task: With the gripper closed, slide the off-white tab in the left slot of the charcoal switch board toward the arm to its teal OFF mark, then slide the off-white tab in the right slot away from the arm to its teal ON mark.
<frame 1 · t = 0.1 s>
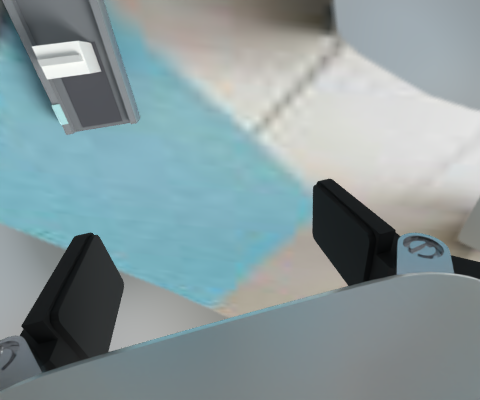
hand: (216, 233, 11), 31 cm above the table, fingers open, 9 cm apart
tab B: (69, 60, 28), point 5 cm above the table, slide at 0.0 cm
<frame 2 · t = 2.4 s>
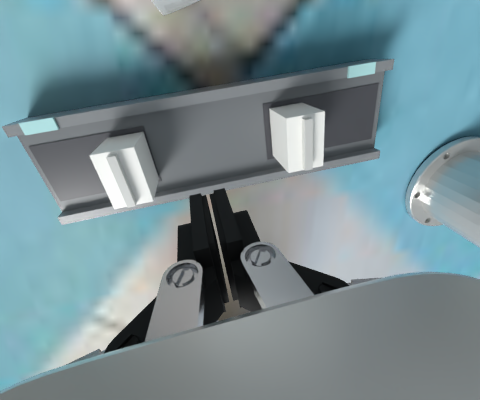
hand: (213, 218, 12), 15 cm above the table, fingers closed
tab A: (296, 137, 21), point 5 cm above the table, slide at 0.0 cm
tab B: (128, 170, 20), point 5 cm above the table, slide at 0.0 cm
switch board: (217, 135, 25), on the table
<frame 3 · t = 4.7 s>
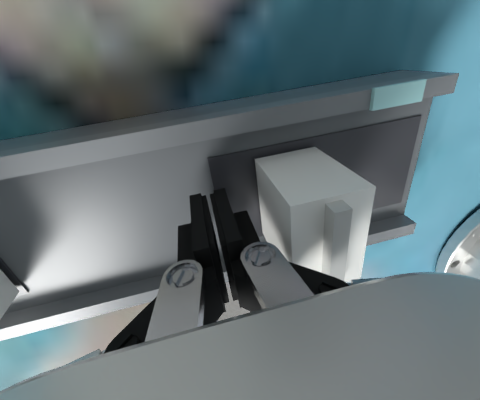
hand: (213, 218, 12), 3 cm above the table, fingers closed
tab A: (307, 219, 11), point 5 cm above the table, slide at -1.7 cm, touching gripper
switch board: (139, 200, 14), on the table
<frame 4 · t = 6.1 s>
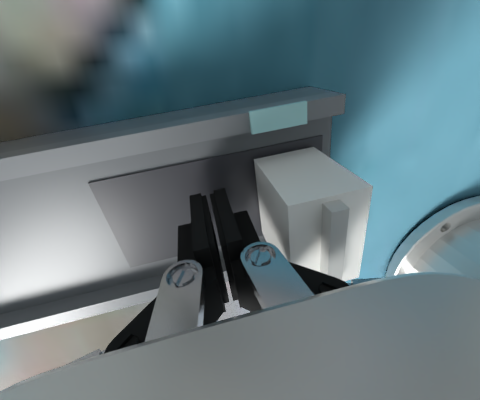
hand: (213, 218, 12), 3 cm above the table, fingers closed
tab A: (306, 218, 11), point 5 cm above the table, slide at -6.9 cm, touching gripper
switch board: (43, 221, 14), on the table
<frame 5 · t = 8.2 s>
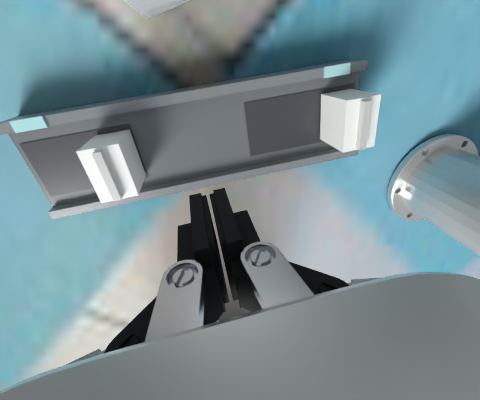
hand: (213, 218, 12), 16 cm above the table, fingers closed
tab A: (348, 120, 23), point 5 cm above the table, slide at -6.9 cm
tab B: (115, 165, 21), point 5 cm above the table, slide at 0.0 cm
switch board: (202, 132, 26), on the table
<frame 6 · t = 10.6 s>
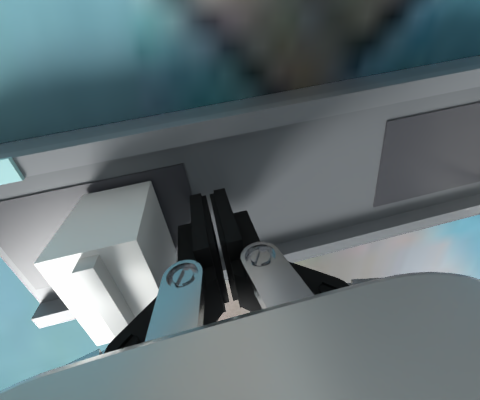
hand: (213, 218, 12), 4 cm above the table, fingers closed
tab B: (125, 261, 10), point 5 cm above the table, slide at 1.5 cm, touching gripper
switch board: (291, 167, 16), on the table
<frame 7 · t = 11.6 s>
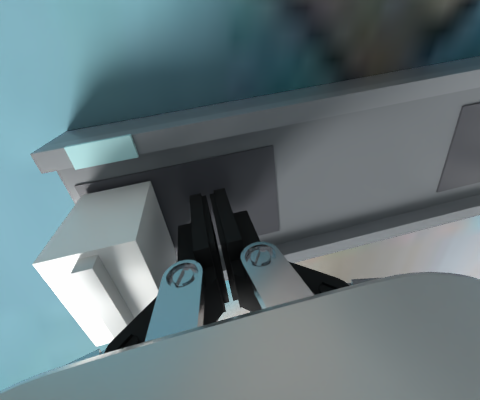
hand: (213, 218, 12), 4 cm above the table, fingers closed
tab B: (124, 261, 10), point 5 cm above the table, slide at 5.9 cm, touching gripper
switch board: (355, 154, 16), on the table
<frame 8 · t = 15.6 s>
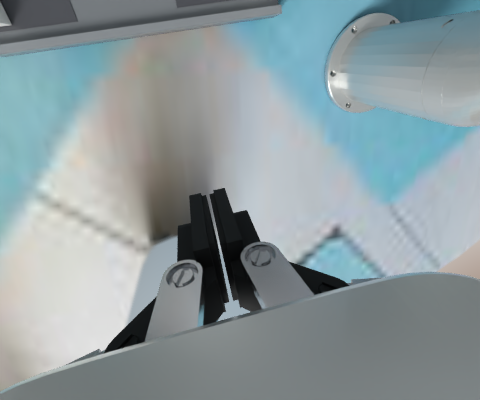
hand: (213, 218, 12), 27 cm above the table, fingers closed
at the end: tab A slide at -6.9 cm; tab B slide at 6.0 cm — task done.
